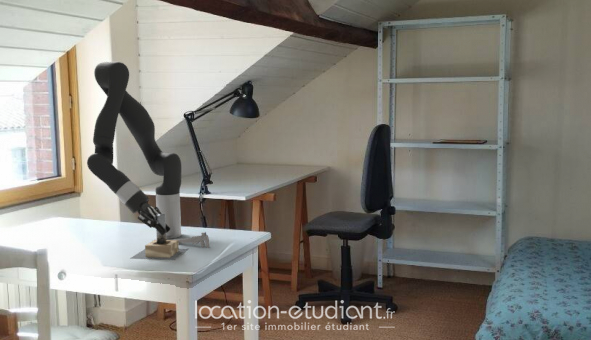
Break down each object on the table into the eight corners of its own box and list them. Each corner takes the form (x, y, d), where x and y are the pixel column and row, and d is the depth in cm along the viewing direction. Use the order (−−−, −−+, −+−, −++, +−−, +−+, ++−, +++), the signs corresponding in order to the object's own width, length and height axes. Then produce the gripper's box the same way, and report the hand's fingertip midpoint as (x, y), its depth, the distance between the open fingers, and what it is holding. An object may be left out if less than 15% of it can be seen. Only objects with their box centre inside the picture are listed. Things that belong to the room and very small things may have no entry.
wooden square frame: (155, 250, 234) (154, 239, 233) (178, 251, 232) (178, 240, 232) (145, 256, 225) (145, 245, 225) (169, 257, 224) (169, 246, 223)
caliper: (209, 249, 238) (209, 232, 237) (208, 249, 237) (207, 232, 236) (165, 243, 247) (164, 227, 246) (163, 244, 246) (162, 228, 245)
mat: (147, 248, 238) (147, 247, 238) (189, 250, 236) (189, 248, 235) (130, 259, 224) (129, 258, 224) (174, 261, 221) (174, 259, 221)
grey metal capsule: (158, 241, 230) (157, 213, 229) (167, 242, 229) (166, 214, 228) (155, 243, 227) (154, 215, 226) (164, 244, 226) (163, 215, 225)
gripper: (131, 192, 220) (166, 229, 220) (147, 186, 234) (180, 220, 233) (116, 207, 222) (152, 244, 221) (133, 200, 236) (167, 235, 235)
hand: (166, 231), depth 227 cm, fingers closed on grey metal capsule, 3 cm apart
